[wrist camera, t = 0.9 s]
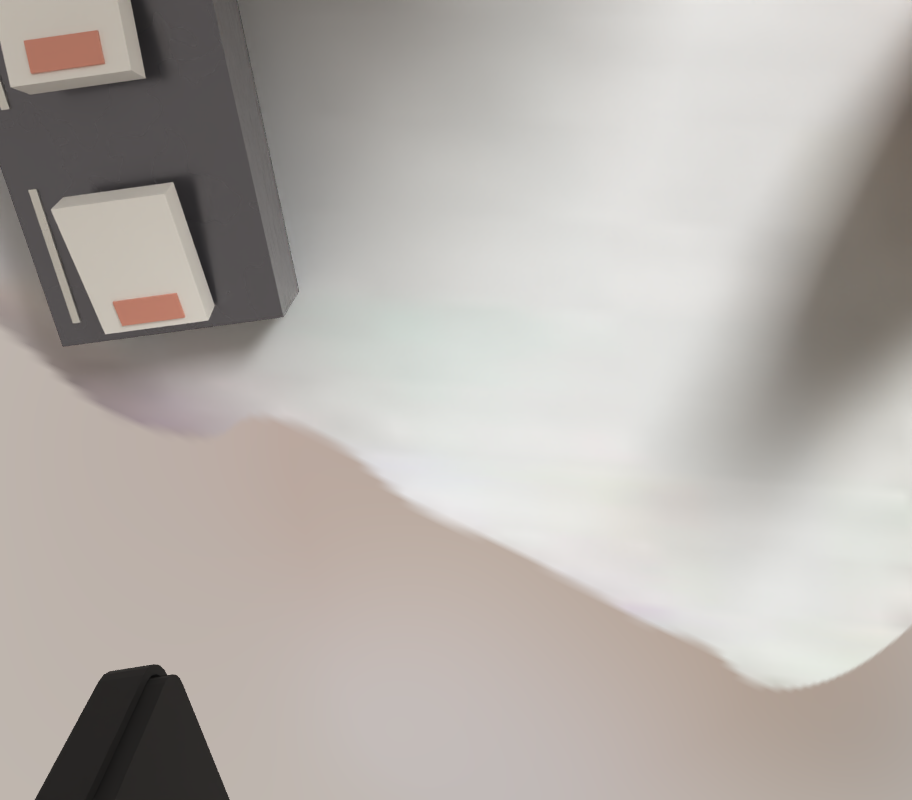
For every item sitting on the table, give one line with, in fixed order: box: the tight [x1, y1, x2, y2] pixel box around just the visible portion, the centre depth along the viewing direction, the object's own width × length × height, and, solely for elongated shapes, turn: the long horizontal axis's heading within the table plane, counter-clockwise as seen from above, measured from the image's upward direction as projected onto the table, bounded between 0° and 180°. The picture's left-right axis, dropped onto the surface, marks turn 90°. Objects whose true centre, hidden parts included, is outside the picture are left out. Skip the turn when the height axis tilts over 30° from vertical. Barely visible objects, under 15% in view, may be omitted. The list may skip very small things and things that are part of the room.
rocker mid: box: [0, 0, 146, 95], centre depth 25 cm, size 5×4×1 cm
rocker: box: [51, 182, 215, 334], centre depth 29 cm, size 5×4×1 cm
